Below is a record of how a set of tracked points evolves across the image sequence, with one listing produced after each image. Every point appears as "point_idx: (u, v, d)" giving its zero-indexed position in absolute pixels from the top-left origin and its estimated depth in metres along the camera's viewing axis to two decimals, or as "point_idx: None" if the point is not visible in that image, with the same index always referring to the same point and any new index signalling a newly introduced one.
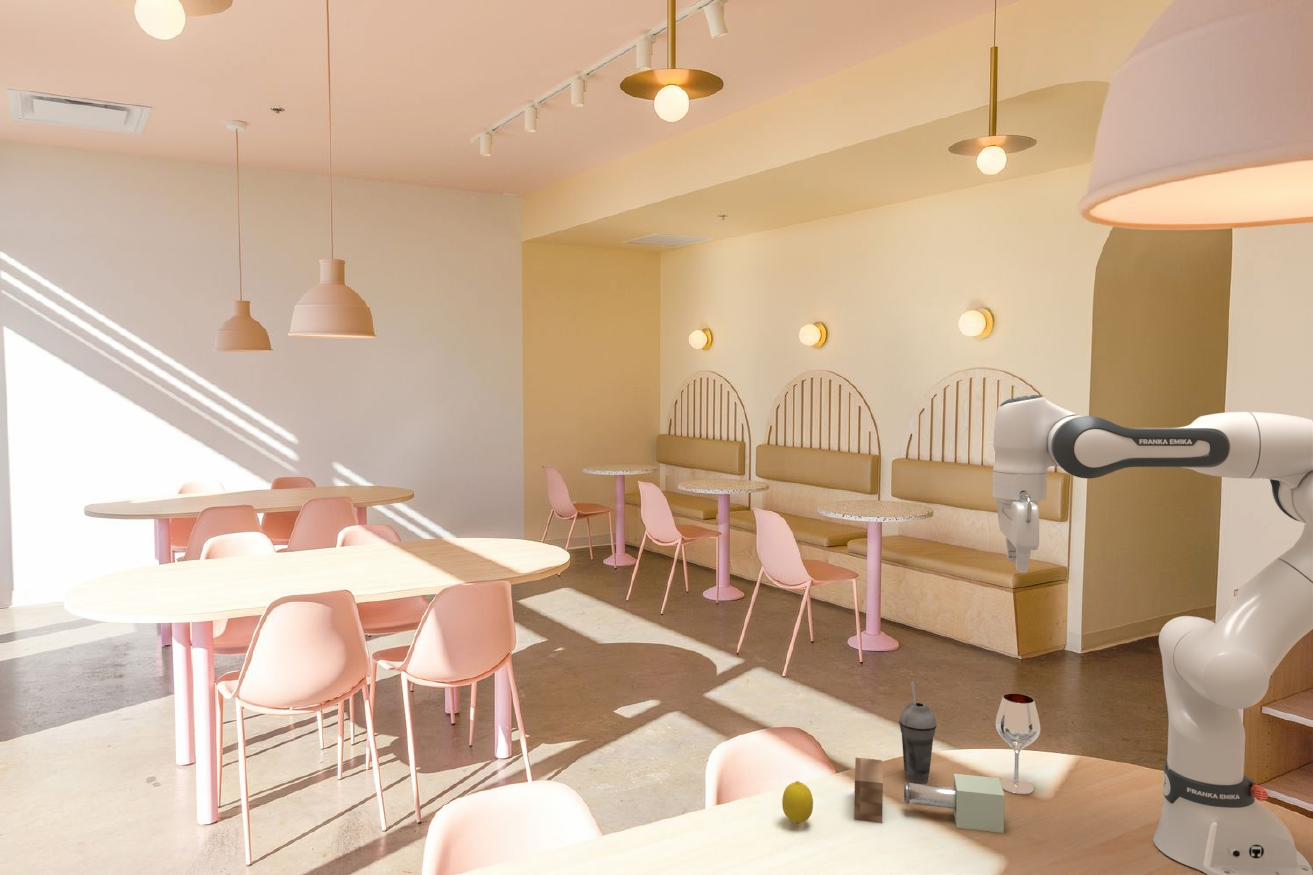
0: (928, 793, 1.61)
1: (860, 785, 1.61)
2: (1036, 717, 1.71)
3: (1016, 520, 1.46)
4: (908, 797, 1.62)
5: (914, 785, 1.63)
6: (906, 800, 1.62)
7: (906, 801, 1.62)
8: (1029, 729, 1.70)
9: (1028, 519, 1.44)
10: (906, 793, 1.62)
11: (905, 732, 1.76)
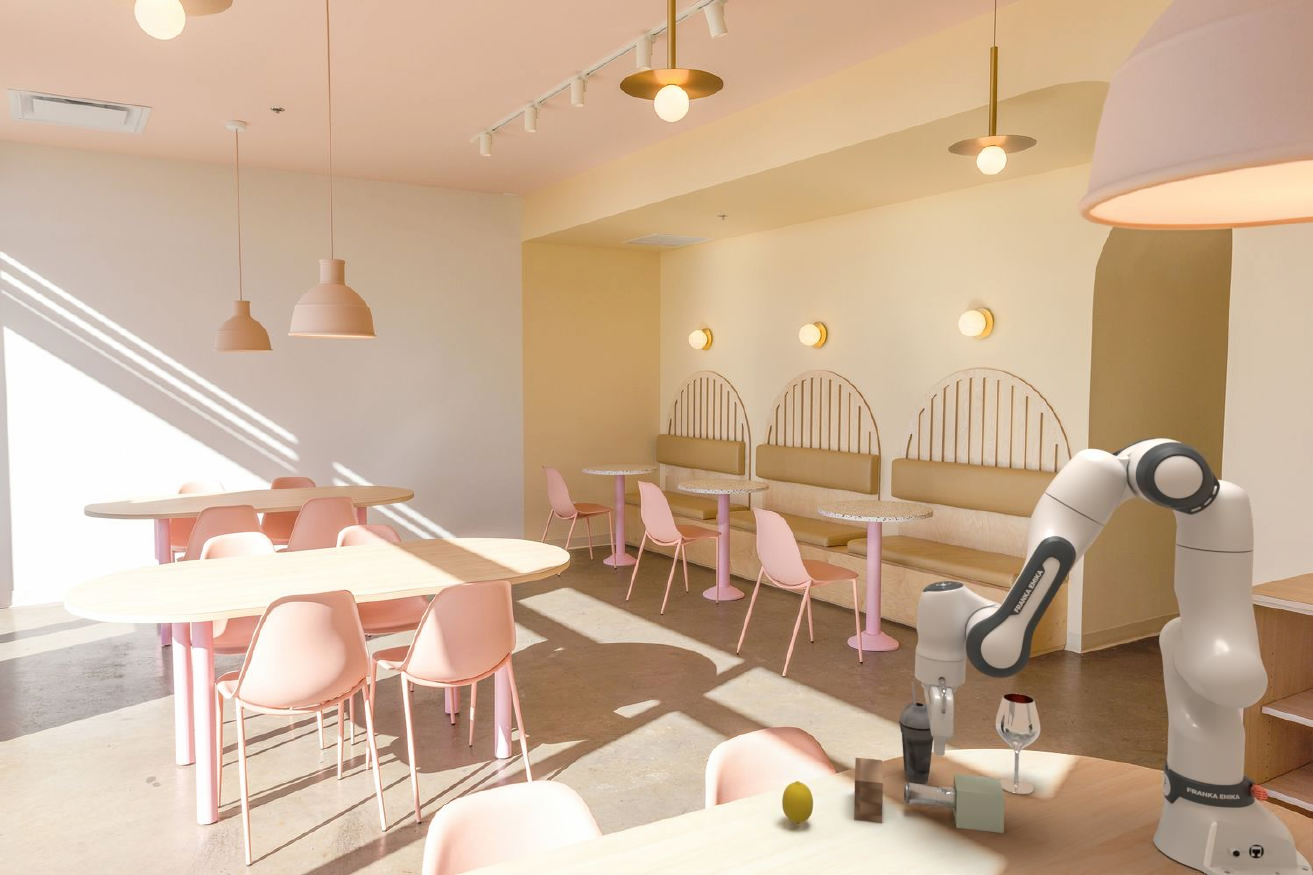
0: (928, 793, 1.61)
1: (860, 785, 1.61)
2: (1036, 717, 1.71)
3: (932, 710, 1.53)
4: (908, 797, 1.62)
5: (914, 785, 1.63)
6: (906, 800, 1.62)
7: (906, 801, 1.62)
8: (1029, 729, 1.70)
9: (943, 710, 1.51)
10: (906, 793, 1.62)
11: (905, 732, 1.76)
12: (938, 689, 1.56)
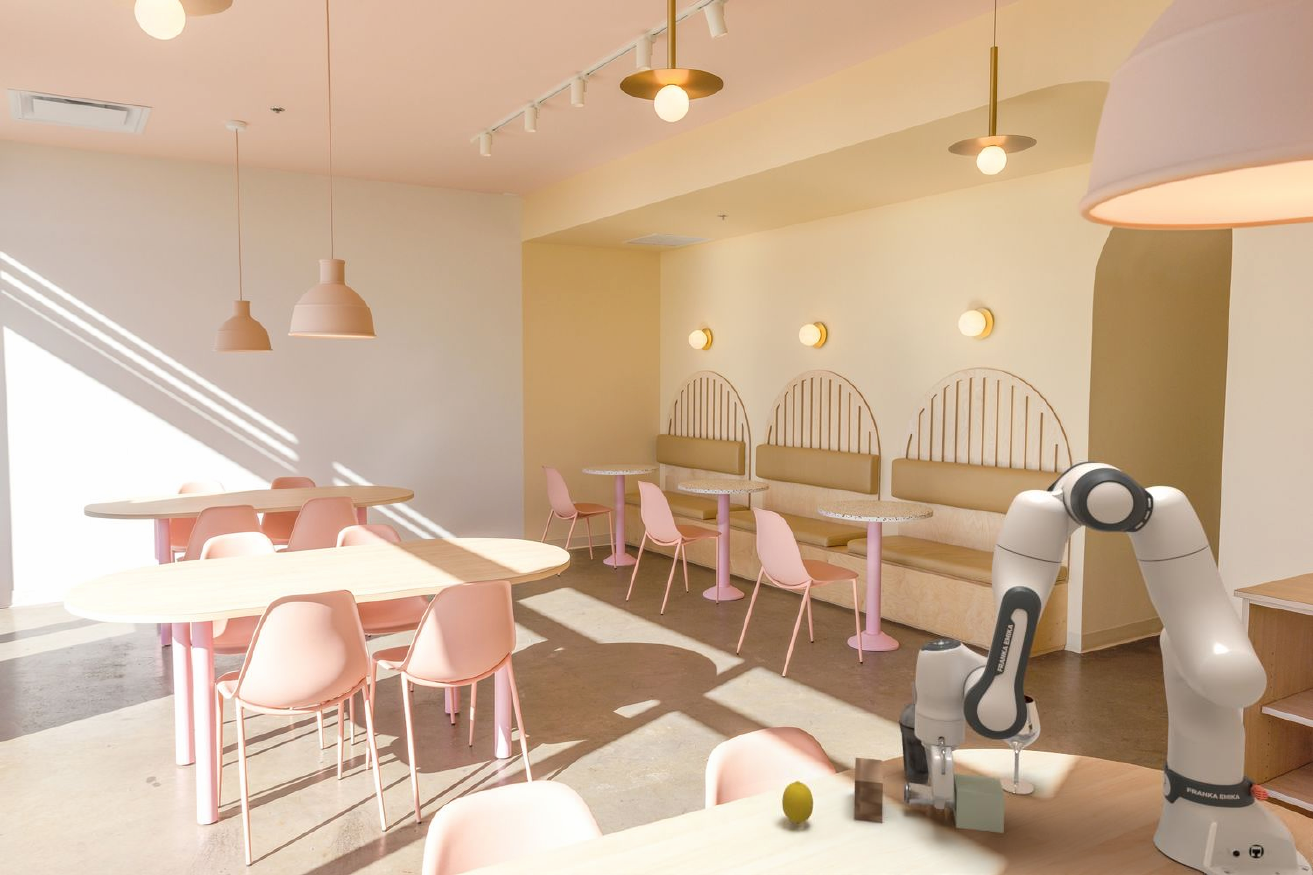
0: (928, 793, 1.61)
1: (860, 785, 1.61)
2: (1036, 717, 1.71)
3: (932, 770, 1.53)
4: (908, 797, 1.62)
5: (914, 785, 1.63)
6: (906, 800, 1.62)
7: (906, 801, 1.62)
8: (1029, 729, 1.70)
9: (943, 772, 1.52)
10: (906, 793, 1.62)
11: (905, 732, 1.76)
12: (938, 749, 1.56)
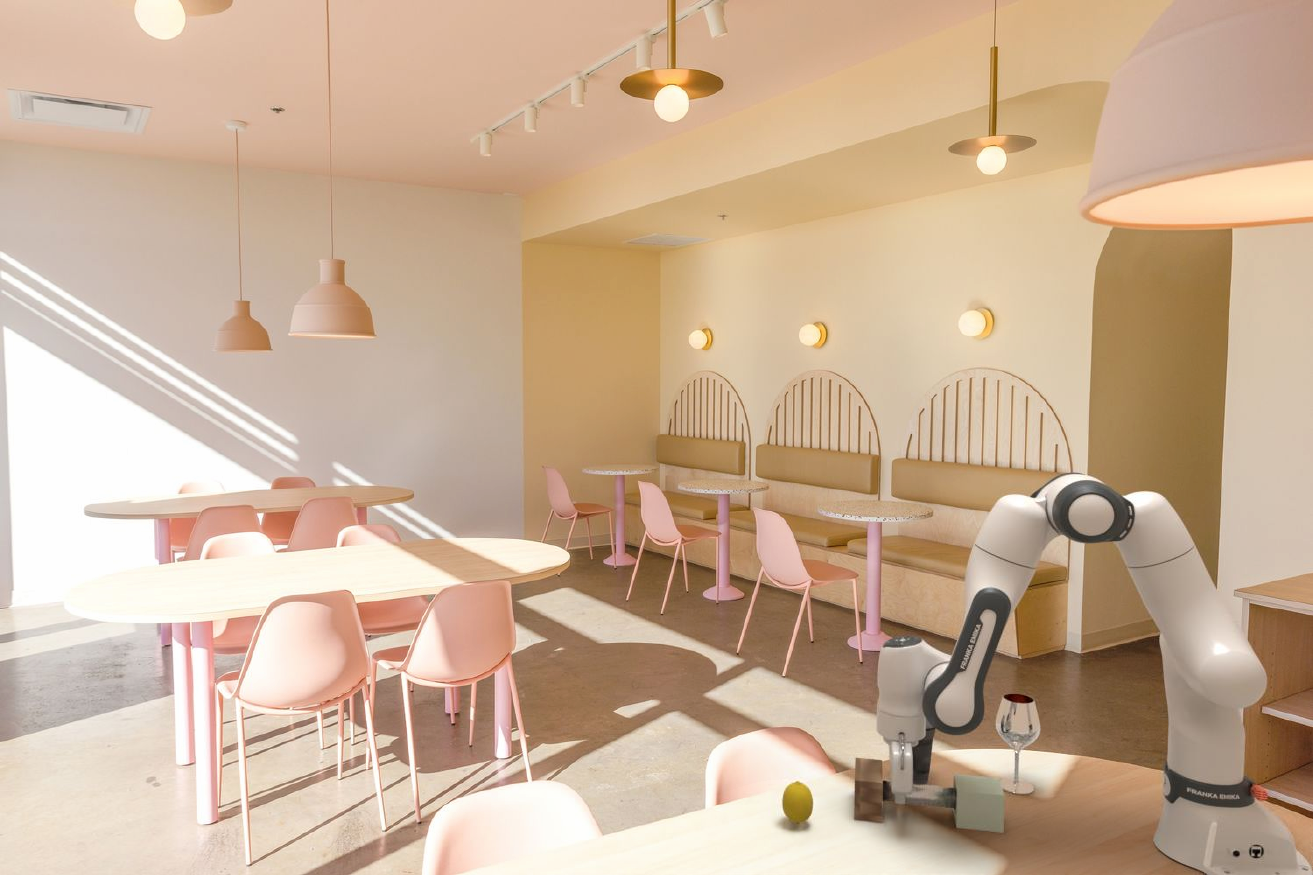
0: (890, 788, 1.63)
1: (860, 785, 1.61)
2: (1036, 717, 1.71)
3: (892, 766, 1.55)
4: None
5: None
6: None
7: None
8: (1029, 729, 1.70)
9: (902, 767, 1.54)
10: None
11: None
12: (898, 744, 1.58)
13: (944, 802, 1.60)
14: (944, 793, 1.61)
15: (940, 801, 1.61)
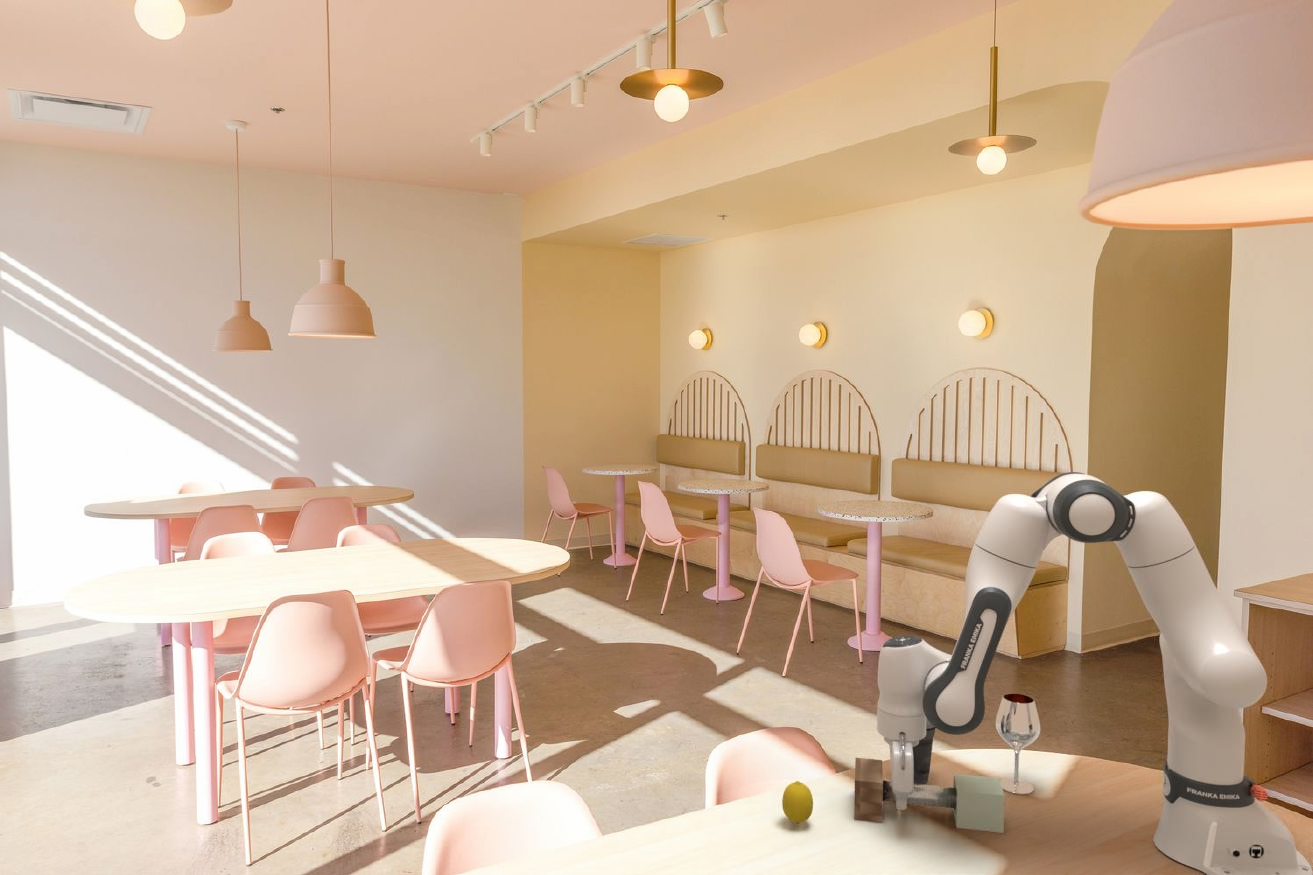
0: (890, 788, 1.63)
1: (860, 785, 1.61)
2: (1036, 717, 1.71)
3: (892, 766, 1.55)
4: None
5: None
6: None
7: None
8: (1029, 729, 1.70)
9: (902, 767, 1.54)
10: None
11: None
12: (898, 744, 1.58)
13: (944, 802, 1.60)
14: (944, 793, 1.61)
15: (940, 801, 1.61)
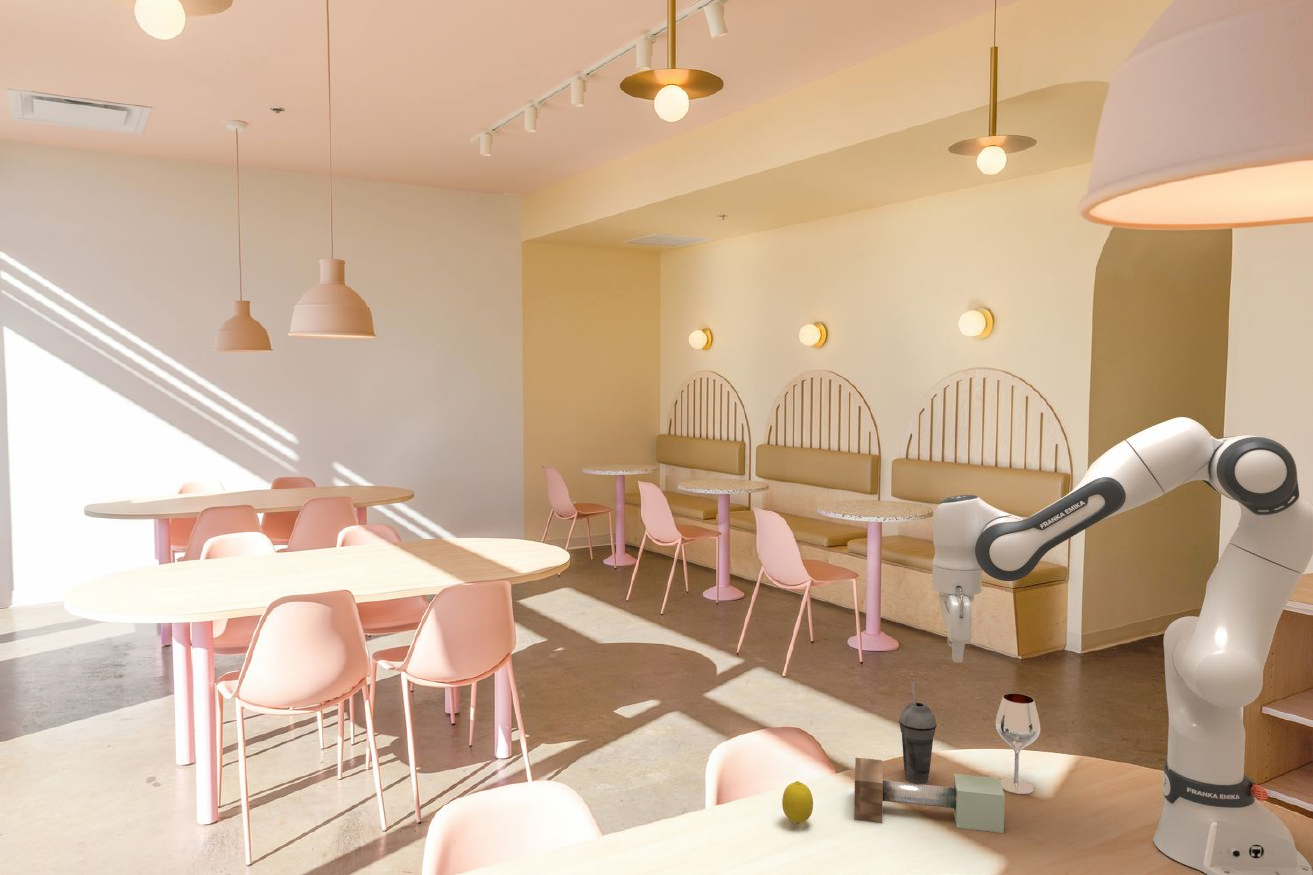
0: (890, 788, 1.63)
1: (860, 785, 1.61)
2: (1036, 717, 1.71)
3: (950, 615, 1.57)
4: None
5: None
6: None
7: None
8: (1029, 729, 1.70)
9: (961, 615, 1.55)
10: None
11: (905, 732, 1.76)
12: (955, 597, 1.60)
13: (944, 802, 1.60)
14: (944, 793, 1.61)
15: (940, 801, 1.61)
